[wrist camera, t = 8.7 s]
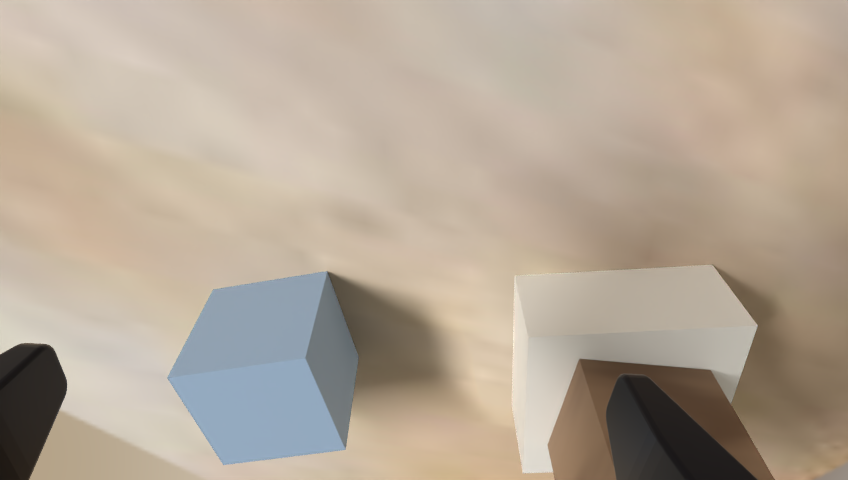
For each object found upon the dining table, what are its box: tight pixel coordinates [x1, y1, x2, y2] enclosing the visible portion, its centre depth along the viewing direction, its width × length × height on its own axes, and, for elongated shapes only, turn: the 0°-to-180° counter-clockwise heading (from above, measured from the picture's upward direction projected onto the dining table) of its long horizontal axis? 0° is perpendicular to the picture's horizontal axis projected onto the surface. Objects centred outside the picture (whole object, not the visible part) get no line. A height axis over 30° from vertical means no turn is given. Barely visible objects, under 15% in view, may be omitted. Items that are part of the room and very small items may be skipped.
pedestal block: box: [512, 265, 758, 473], centre depth 23 cm, size 8×8×4 cm
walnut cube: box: [548, 359, 775, 480], centre depth 19 cm, size 5×5×6 cm
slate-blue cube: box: [167, 271, 359, 465], centre depth 22 cm, size 5×5×5 cm
